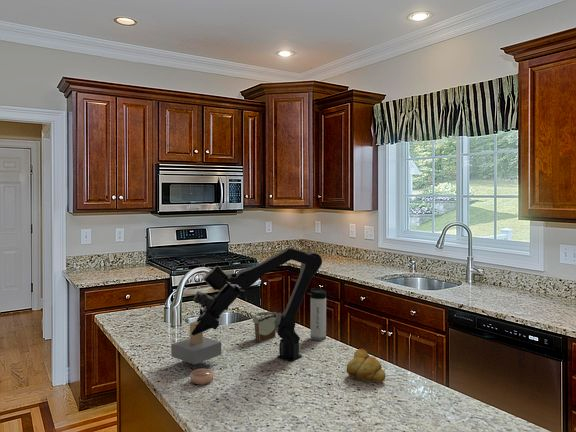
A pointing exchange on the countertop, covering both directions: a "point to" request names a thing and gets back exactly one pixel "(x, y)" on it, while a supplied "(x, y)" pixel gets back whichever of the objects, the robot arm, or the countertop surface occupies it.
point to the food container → (264, 326)
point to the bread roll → (365, 367)
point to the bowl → (201, 376)
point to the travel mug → (318, 314)
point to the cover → (195, 348)
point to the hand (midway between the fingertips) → (192, 332)
